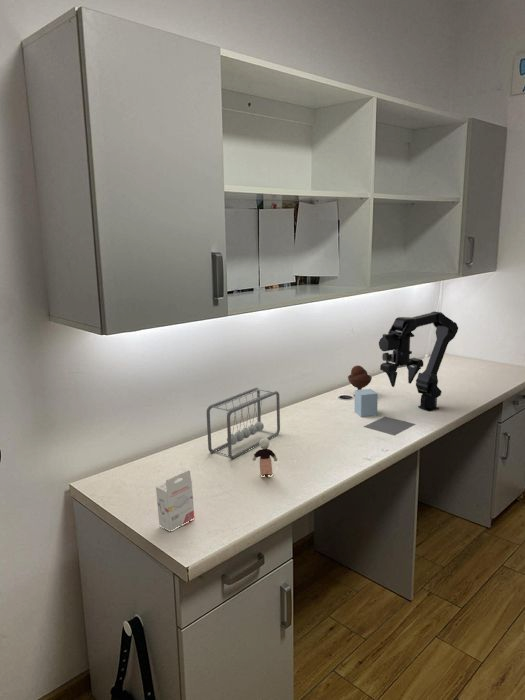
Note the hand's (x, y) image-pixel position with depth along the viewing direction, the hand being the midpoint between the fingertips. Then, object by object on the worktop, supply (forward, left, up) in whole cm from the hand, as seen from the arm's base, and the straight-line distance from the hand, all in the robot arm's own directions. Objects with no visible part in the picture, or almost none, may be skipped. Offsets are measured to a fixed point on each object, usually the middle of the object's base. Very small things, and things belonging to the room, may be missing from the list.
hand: (401, 385), depth 217 cm
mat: (+13, +8, -13) cm, 20 cm away
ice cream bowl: (-2, -30, -13) cm, 33 cm away
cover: (+12, -8, -13) cm, 19 cm away
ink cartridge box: (+110, +34, -13) cm, 116 cm away
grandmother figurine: (+76, +21, -13) cm, 80 cm away
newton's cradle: (+69, -6, -13) cm, 71 cm away
